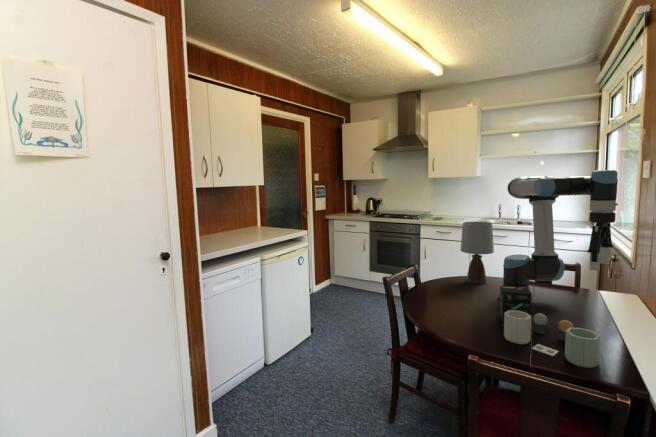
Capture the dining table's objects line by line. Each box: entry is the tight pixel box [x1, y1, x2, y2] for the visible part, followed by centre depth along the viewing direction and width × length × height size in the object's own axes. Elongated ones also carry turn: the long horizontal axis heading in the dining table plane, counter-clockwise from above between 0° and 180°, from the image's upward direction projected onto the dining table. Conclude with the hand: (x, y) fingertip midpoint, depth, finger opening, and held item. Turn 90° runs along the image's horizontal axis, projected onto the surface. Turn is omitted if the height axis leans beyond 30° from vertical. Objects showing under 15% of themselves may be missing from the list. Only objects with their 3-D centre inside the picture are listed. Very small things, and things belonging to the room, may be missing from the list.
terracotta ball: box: [557, 319, 575, 333], centre depth 127 cm, size 5×5×5 cm
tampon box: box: [499, 285, 532, 325], centre depth 145 cm, size 11×9×15 cm
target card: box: [531, 343, 560, 357], centre depth 120 cm, size 7×5×1 cm
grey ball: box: [532, 312, 548, 326], centre depth 135 cm, size 5×5×5 cm
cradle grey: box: [532, 322, 548, 335], centre depth 135 cm, size 4×4×3 cm
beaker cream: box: [503, 310, 532, 345], centre depth 129 cm, size 9×9×10 cm
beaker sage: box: [564, 327, 601, 369], centre depth 112 cm, size 9×9×10 cm
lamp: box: [460, 221, 495, 285], centre depth 201 cm, size 19×19×37 cm
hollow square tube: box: [557, 330, 566, 342], centre depth 128 cm, size 4×4×3 cm
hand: (599, 266), depth 124 cm, fingers open, 13 cm apart
